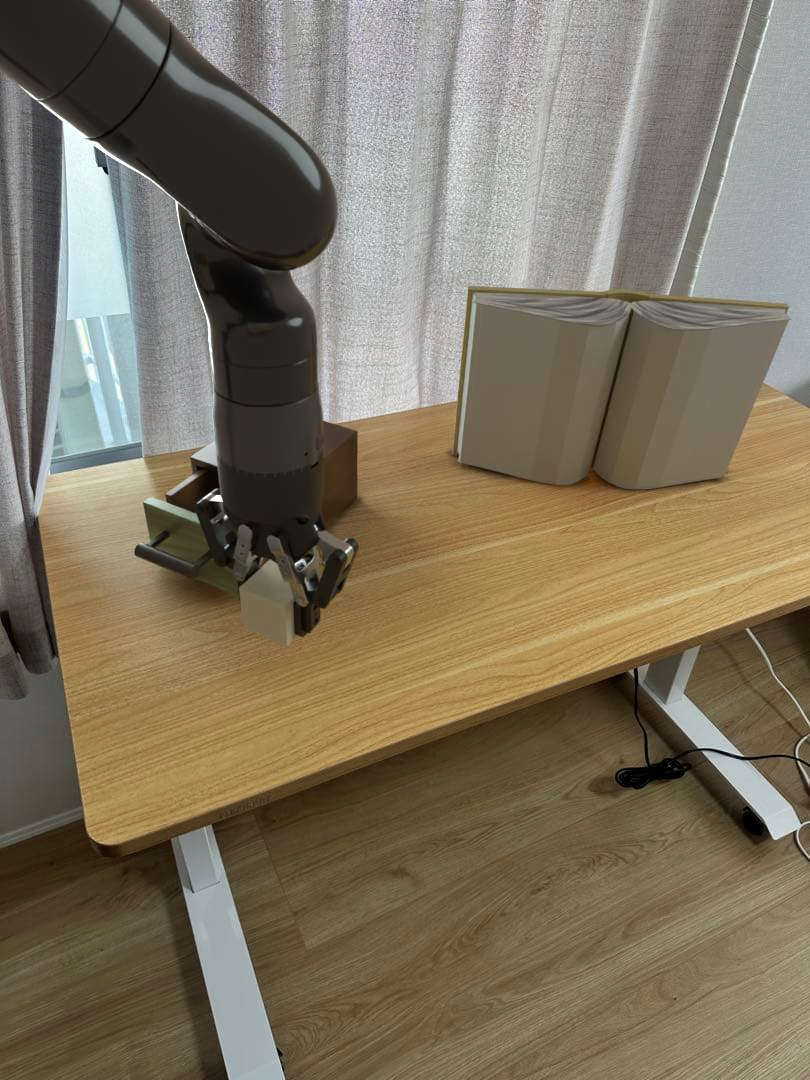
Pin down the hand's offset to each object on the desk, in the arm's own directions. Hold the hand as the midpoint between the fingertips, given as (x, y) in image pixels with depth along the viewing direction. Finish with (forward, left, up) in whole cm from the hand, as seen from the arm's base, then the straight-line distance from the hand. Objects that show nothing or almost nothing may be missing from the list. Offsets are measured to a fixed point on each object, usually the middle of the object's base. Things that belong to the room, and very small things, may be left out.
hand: (280, 618), depth 67 cm
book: (+43, +33, -10) cm, 55 cm away
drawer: (-5, +21, -9) cm, 24 cm away
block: (0, 0, 0) cm, 0 cm away
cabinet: (+2, +30, -10) cm, 31 cm away
